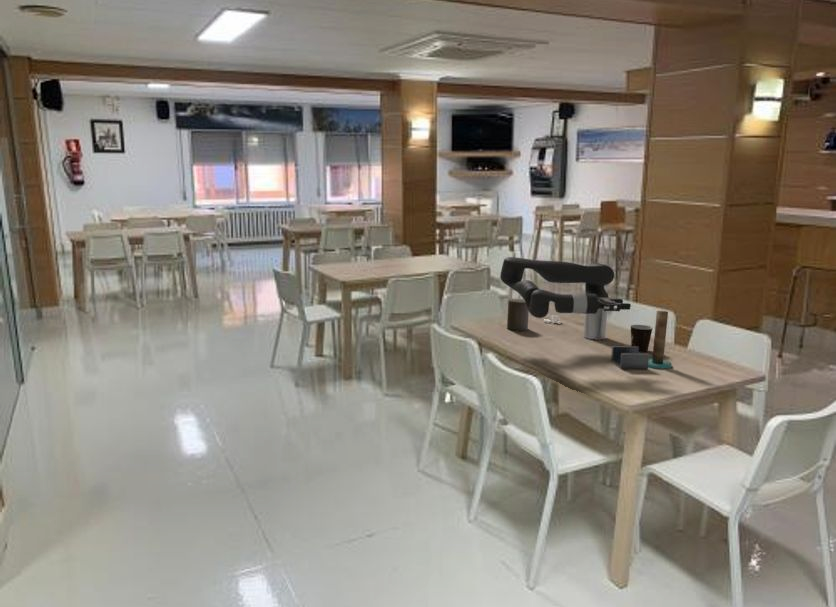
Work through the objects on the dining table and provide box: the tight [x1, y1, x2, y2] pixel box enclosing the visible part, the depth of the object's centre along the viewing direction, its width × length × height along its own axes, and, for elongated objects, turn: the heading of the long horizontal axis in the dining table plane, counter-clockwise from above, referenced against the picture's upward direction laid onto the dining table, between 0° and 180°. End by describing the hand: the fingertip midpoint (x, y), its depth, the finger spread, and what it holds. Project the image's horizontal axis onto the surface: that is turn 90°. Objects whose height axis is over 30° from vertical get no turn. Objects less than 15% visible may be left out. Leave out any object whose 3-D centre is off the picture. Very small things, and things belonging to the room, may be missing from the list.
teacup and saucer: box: [543, 314, 561, 324], centre depth 313 cm, size 9×8×4 cm
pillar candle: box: [506, 297, 530, 332], centre depth 298 cm, size 10×10×15 cm
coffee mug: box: [630, 324, 653, 353], centre depth 263 cm, size 12×9×10 cm
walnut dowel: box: [651, 310, 669, 364], centre depth 242 cm, size 4×4×20 cm
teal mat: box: [648, 358, 673, 370], centre depth 245 cm, size 10×10×1 cm
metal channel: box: [610, 345, 650, 371], centre depth 244 cm, size 12×10×6 cm
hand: (626, 304), depth 240 cm, fingers open, 8 cm apart
